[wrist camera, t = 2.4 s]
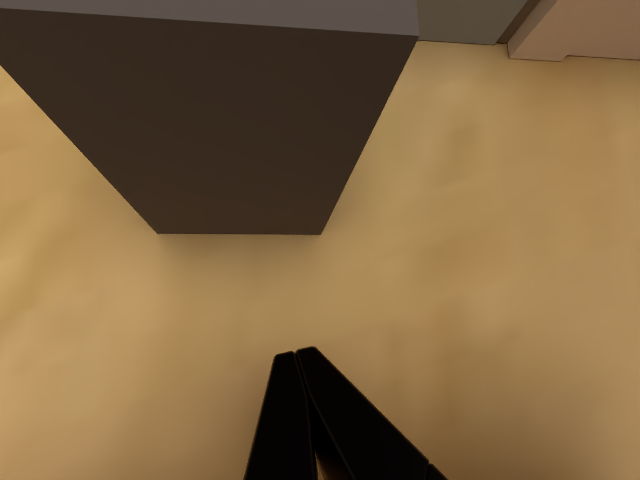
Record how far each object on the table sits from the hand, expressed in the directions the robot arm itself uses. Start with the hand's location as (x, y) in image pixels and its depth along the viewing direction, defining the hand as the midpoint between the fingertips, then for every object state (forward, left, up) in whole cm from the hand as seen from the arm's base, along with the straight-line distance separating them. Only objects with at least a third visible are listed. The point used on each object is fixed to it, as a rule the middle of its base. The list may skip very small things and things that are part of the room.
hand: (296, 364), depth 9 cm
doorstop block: (+8, +2, -7) cm, 10 cm away
